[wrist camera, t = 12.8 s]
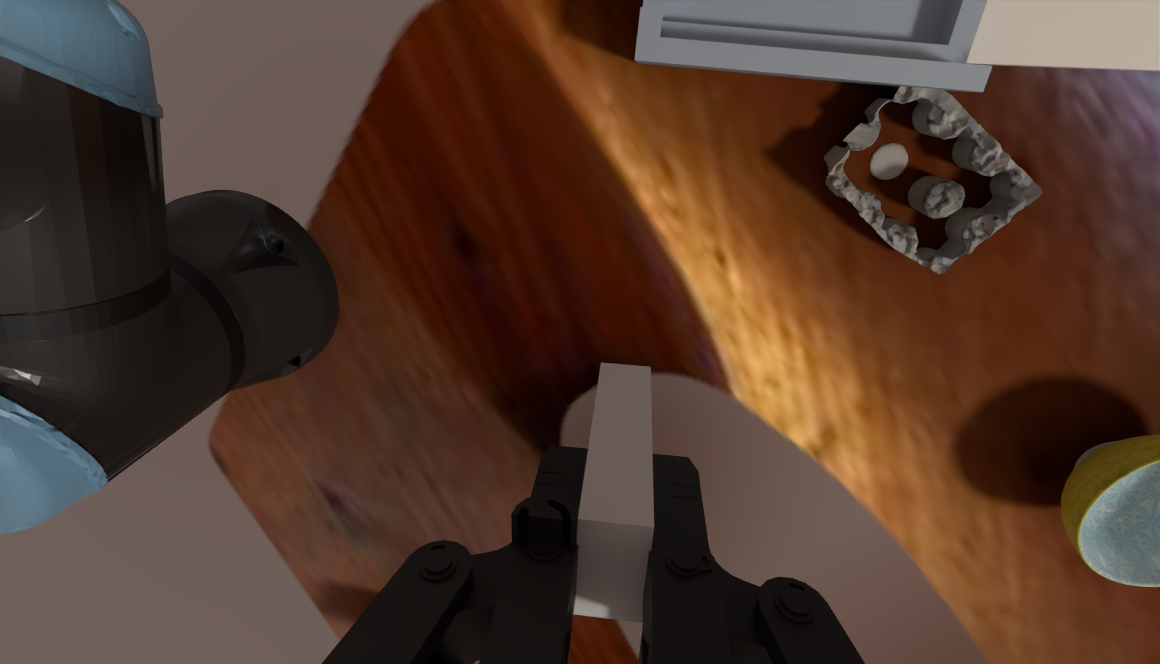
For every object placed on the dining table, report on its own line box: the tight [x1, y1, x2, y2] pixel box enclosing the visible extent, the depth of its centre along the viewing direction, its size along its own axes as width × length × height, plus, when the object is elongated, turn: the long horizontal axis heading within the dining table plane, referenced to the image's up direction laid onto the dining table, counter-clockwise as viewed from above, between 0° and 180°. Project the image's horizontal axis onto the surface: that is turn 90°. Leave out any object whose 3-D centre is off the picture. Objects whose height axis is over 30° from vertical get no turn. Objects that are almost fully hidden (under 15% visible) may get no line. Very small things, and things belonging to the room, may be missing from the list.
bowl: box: [1061, 435, 1160, 587], centre depth 38 cm, size 11×12×6 cm
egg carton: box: [824, 86, 1043, 274], centre depth 33 cm, size 11×8×4 cm
